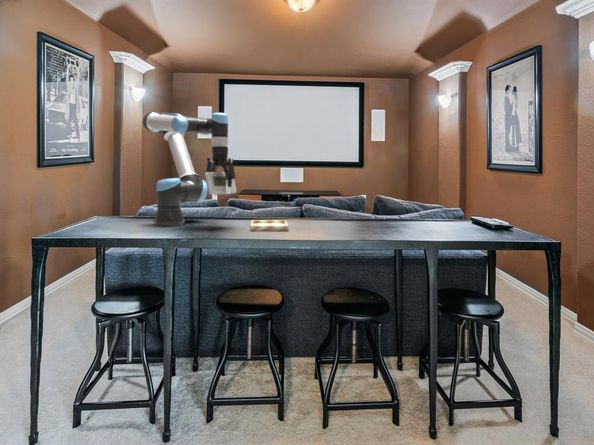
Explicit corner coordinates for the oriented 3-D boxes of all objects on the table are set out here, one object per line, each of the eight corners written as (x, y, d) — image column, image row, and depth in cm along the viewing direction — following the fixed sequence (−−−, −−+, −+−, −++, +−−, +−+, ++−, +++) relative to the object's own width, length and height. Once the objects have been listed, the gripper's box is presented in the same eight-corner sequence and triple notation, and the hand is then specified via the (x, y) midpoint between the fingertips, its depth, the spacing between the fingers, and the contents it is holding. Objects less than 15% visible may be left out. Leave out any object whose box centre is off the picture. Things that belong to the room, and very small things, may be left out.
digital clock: (208, 195, 203) (208, 172, 202) (201, 193, 211) (201, 171, 209) (239, 194, 212) (239, 172, 211) (232, 192, 220) (232, 171, 218)
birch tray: (250, 231, 207) (250, 225, 206) (251, 224, 226) (251, 220, 226) (288, 231, 208) (288, 226, 208) (286, 225, 228) (286, 220, 227)
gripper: (197, 145, 210) (198, 192, 213) (234, 146, 200) (234, 194, 204) (206, 146, 216) (207, 191, 220) (243, 146, 207) (243, 193, 210)
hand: (220, 193), depth 212 cm, fingers closed on digital clock, 8 cm apart
